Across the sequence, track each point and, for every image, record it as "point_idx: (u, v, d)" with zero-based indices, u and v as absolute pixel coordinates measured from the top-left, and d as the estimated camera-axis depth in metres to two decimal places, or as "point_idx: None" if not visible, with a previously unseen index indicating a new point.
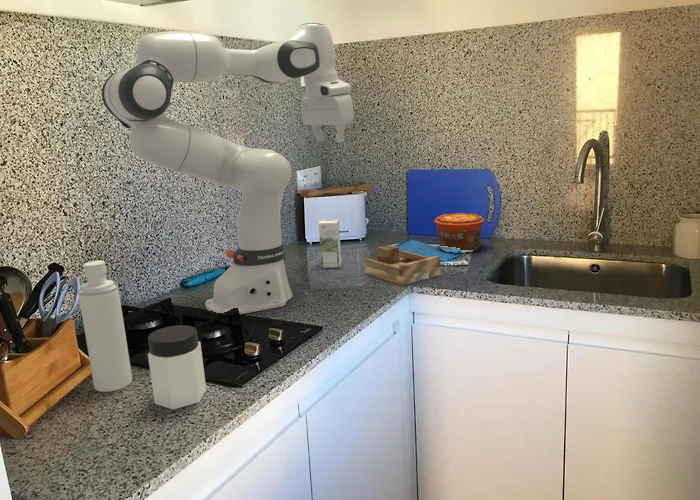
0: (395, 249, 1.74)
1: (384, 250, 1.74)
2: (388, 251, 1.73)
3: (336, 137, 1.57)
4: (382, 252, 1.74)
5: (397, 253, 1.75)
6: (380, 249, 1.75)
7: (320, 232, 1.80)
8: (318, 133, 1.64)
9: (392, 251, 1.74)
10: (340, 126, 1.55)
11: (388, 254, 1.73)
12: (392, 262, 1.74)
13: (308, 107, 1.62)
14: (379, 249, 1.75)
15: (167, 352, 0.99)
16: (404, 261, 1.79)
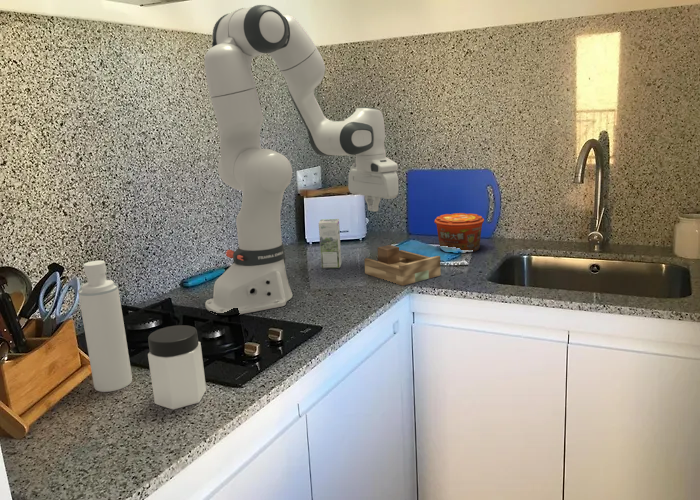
0: (395, 249, 1.74)
1: (384, 250, 1.74)
2: (388, 251, 1.73)
3: (371, 207, 1.77)
4: (382, 252, 1.74)
5: (397, 253, 1.75)
6: (380, 249, 1.75)
7: (320, 232, 1.80)
8: (370, 203, 1.78)
9: (392, 251, 1.74)
10: (376, 198, 1.75)
11: (388, 254, 1.73)
12: (392, 262, 1.74)
13: (356, 178, 1.80)
14: (379, 249, 1.75)
15: (167, 352, 0.99)
16: (404, 261, 1.79)
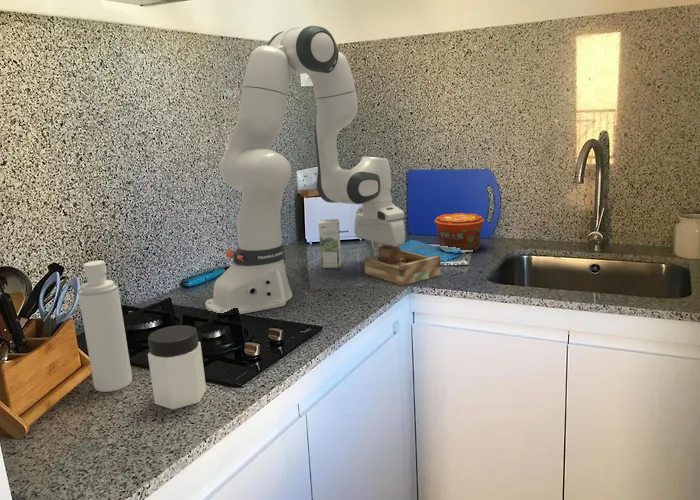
0: (396, 249, 1.74)
1: (385, 250, 1.73)
2: (389, 251, 1.73)
3: (378, 252, 1.79)
4: (383, 252, 1.74)
5: (398, 253, 1.75)
6: (381, 249, 1.75)
7: (320, 232, 1.80)
8: (376, 248, 1.80)
9: (393, 251, 1.74)
10: (383, 244, 1.77)
11: (389, 254, 1.73)
12: (393, 262, 1.74)
13: (362, 223, 1.81)
14: (380, 249, 1.75)
15: (167, 352, 0.99)
16: (404, 261, 1.79)
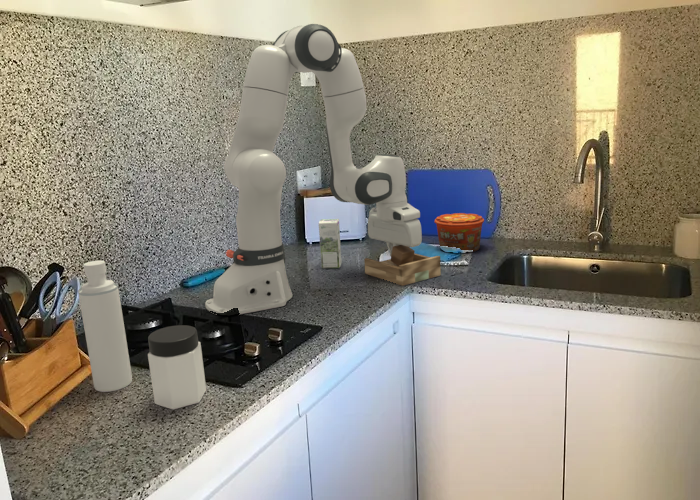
0: (410, 253, 1.70)
1: (399, 252, 1.69)
2: (403, 255, 1.69)
3: None
4: (397, 253, 1.70)
5: (411, 256, 1.71)
6: (395, 250, 1.70)
7: (320, 232, 1.80)
8: None
9: (407, 254, 1.70)
10: (397, 244, 1.72)
11: (402, 257, 1.69)
12: None
13: (376, 224, 1.77)
14: (394, 249, 1.71)
15: (167, 352, 0.99)
16: None
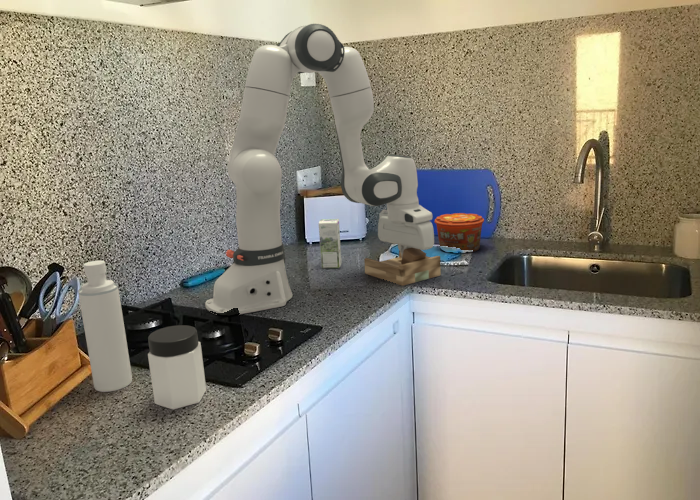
0: (422, 255, 1.66)
1: (411, 255, 1.65)
2: (415, 257, 1.65)
3: None
4: (408, 256, 1.66)
5: None
6: (406, 252, 1.67)
7: (320, 232, 1.80)
8: None
9: (419, 257, 1.66)
10: (408, 247, 1.69)
11: (414, 260, 1.65)
12: None
13: (386, 226, 1.73)
14: (405, 252, 1.67)
15: (167, 352, 0.99)
16: None
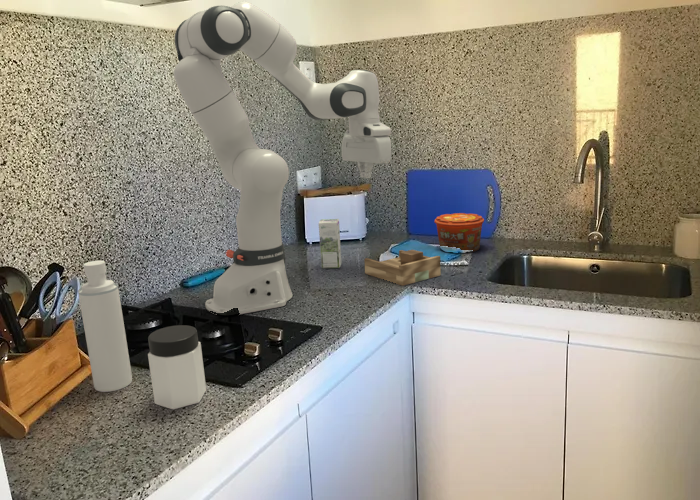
0: (419, 254, 1.67)
1: (408, 255, 1.66)
2: (412, 256, 1.66)
3: (364, 173, 1.73)
4: (406, 257, 1.67)
5: (421, 258, 1.68)
6: (403, 254, 1.68)
7: (320, 232, 1.80)
8: (363, 170, 1.74)
9: (416, 256, 1.67)
10: (369, 164, 1.71)
11: (412, 259, 1.66)
12: None
13: (349, 144, 1.76)
14: (402, 254, 1.68)
15: (167, 352, 0.99)
16: None
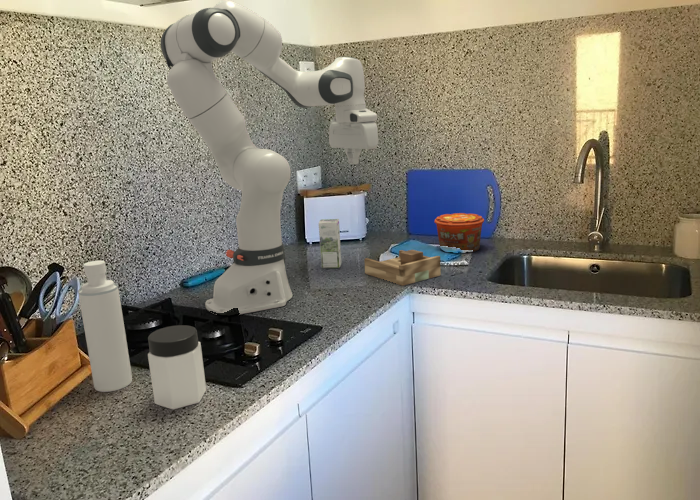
0: (419, 254, 1.67)
1: (408, 255, 1.66)
2: (412, 256, 1.66)
3: (352, 159, 1.75)
4: (406, 257, 1.67)
5: (421, 258, 1.68)
6: (403, 254, 1.68)
7: (320, 232, 1.80)
8: (350, 156, 1.77)
9: (416, 256, 1.67)
10: (356, 150, 1.73)
11: (412, 259, 1.66)
12: None
13: (336, 131, 1.78)
14: (402, 254, 1.68)
15: (167, 352, 0.99)
16: None
